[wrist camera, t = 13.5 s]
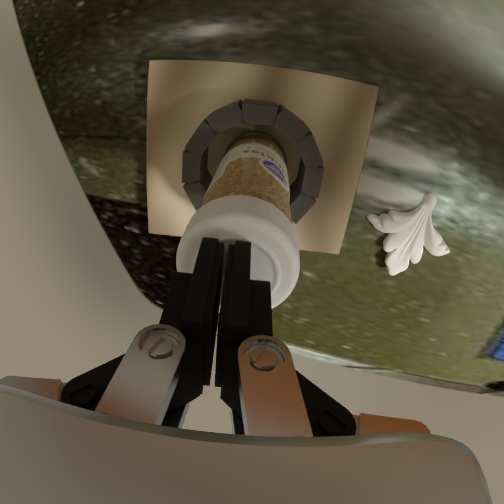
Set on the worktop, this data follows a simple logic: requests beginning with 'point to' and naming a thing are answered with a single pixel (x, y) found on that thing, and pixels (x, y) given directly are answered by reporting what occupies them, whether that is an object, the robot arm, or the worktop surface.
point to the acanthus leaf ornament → (409, 235)
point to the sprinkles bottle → (249, 214)
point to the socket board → (256, 120)
